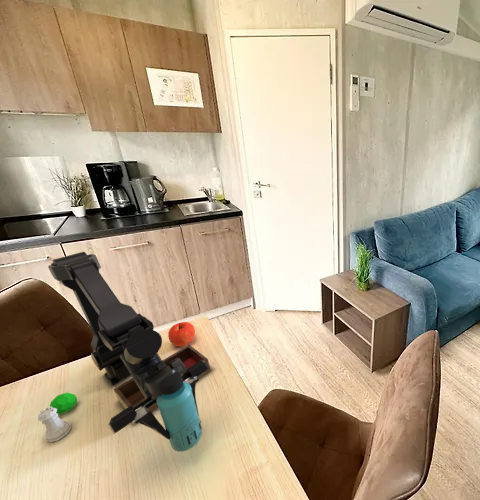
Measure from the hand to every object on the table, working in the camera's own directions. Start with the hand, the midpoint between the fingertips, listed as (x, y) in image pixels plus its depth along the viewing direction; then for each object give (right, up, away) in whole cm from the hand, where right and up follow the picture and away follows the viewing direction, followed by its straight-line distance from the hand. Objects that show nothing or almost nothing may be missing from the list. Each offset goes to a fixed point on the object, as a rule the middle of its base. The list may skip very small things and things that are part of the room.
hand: (183, 427), depth 61 cm
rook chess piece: (-36, -7, +9) cm, 37 cm away
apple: (-22, +6, +38) cm, 44 cm away
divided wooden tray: (-17, -1, +22) cm, 28 cm away
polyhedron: (-40, -5, +15) cm, 43 cm away
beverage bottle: (-1, -6, +4) cm, 7 cm away
